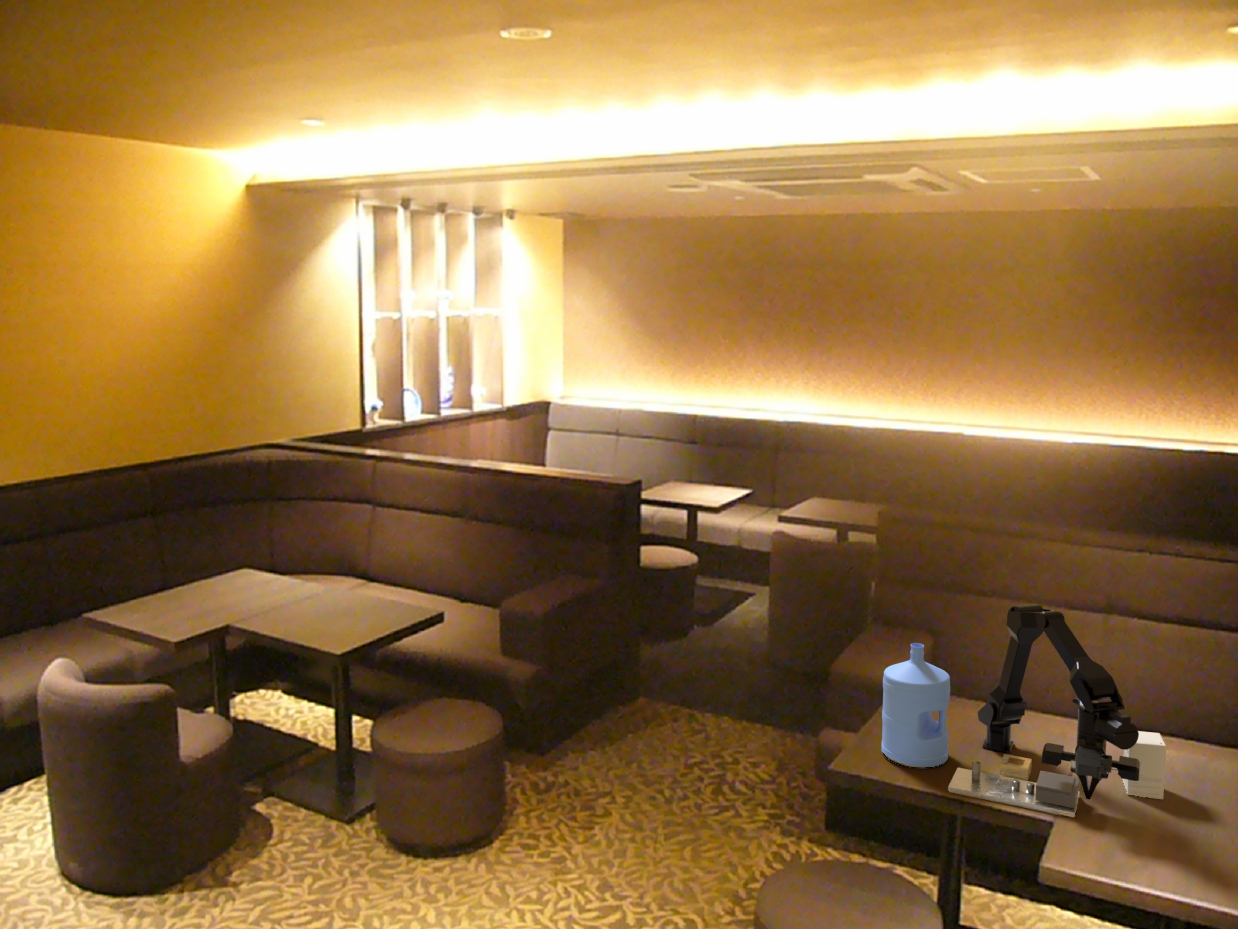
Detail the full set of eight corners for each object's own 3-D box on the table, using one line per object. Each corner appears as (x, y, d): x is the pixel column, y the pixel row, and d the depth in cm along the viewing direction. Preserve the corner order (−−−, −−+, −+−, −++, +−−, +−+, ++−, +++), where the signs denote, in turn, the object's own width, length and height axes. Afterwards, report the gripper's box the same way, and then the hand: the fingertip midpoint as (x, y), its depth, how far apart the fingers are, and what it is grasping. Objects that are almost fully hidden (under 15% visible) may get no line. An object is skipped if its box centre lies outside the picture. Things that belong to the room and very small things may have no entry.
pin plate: (957, 772, 231) (958, 749, 230) (1079, 796, 218) (1080, 772, 217) (948, 791, 221) (948, 768, 221) (1074, 818, 209) (1076, 793, 208)
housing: (1039, 785, 220) (1040, 770, 220) (1078, 793, 217) (1078, 777, 216) (1035, 800, 214) (1036, 785, 213) (1074, 808, 210) (1075, 793, 209)
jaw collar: (1003, 766, 234) (1004, 754, 233) (1031, 771, 231) (1031, 759, 230) (999, 776, 229) (1000, 763, 228) (1027, 781, 226) (1028, 769, 225)
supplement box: (1157, 785, 223) (1160, 732, 221) (1163, 800, 216) (1167, 746, 214) (1121, 781, 225) (1124, 728, 223) (1126, 796, 218) (1129, 741, 216)
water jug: (873, 761, 237) (876, 649, 233) (890, 738, 251) (892, 631, 247) (940, 775, 229) (944, 659, 226) (953, 750, 243) (957, 640, 239)
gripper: (1040, 735, 207) (1036, 805, 210) (1140, 753, 198) (1135, 825, 201) (1046, 717, 217) (1043, 783, 219) (1141, 733, 208) (1137, 802, 210)
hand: (1088, 798), depth 212 cm, fingers closed
